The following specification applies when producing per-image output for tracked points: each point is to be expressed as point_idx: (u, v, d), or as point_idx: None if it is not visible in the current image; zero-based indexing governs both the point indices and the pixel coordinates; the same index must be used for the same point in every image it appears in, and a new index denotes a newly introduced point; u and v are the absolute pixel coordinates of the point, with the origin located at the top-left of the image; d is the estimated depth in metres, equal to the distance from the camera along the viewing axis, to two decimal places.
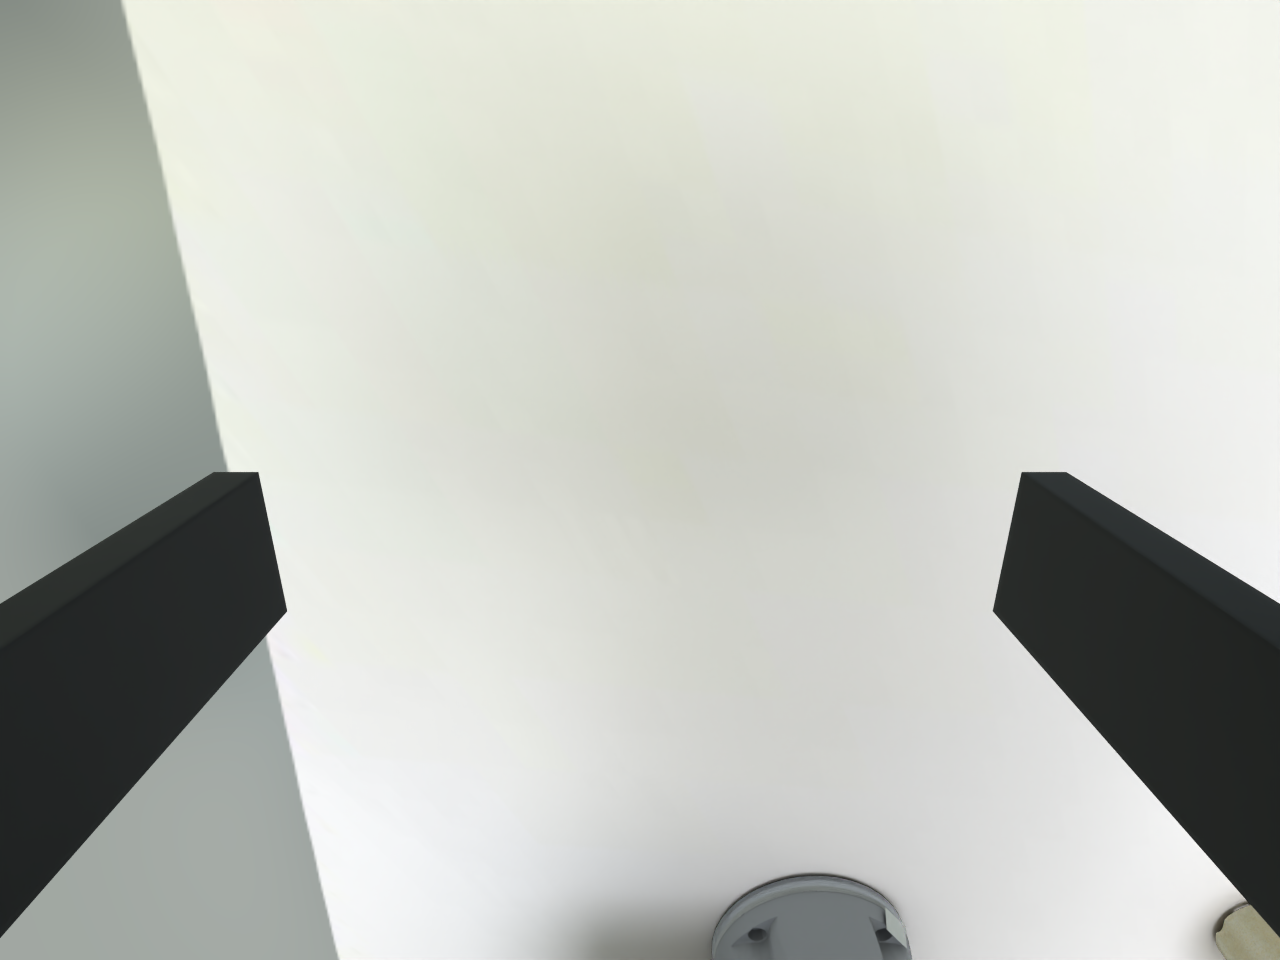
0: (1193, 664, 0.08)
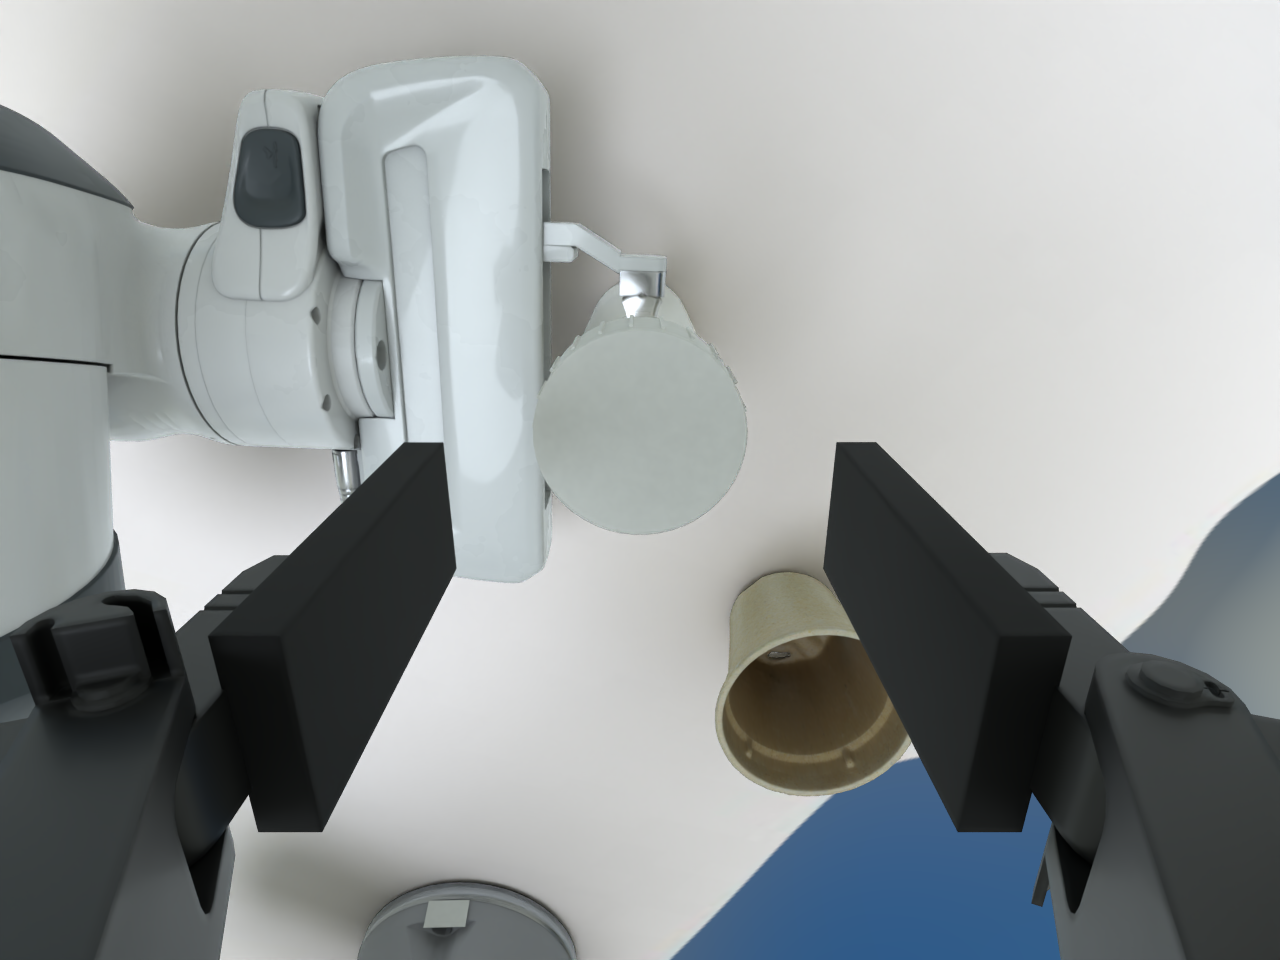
0: (910, 593, 0.10)
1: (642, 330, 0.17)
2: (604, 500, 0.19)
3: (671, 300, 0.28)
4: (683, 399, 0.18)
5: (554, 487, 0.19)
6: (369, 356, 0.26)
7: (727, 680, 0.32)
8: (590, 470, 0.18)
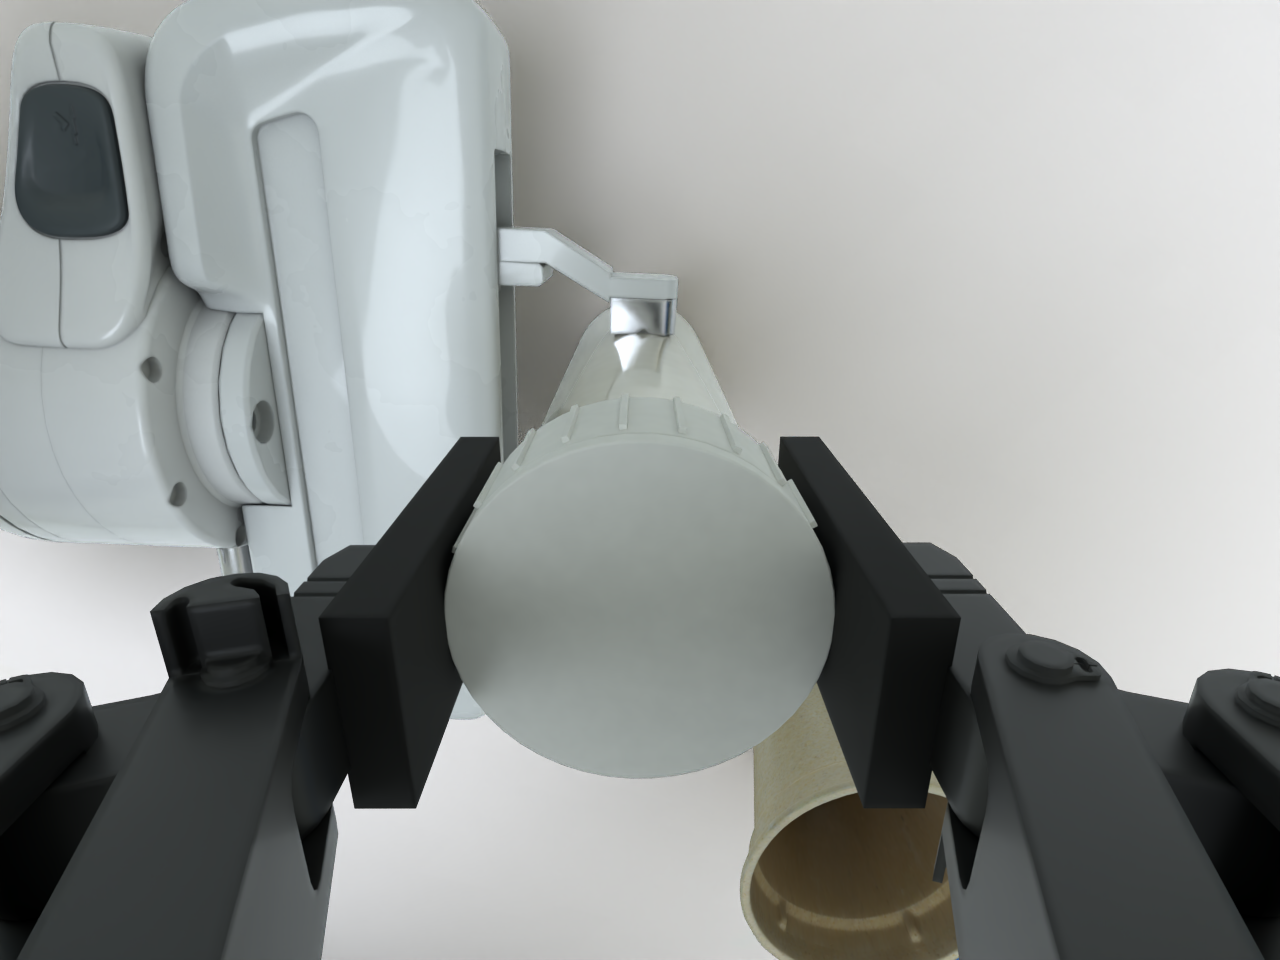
0: None
1: (644, 441, 0.09)
2: (576, 726, 0.11)
3: (683, 337, 0.20)
4: (720, 562, 0.10)
5: (488, 706, 0.10)
6: (241, 426, 0.17)
7: (757, 844, 0.24)
8: (550, 679, 0.10)
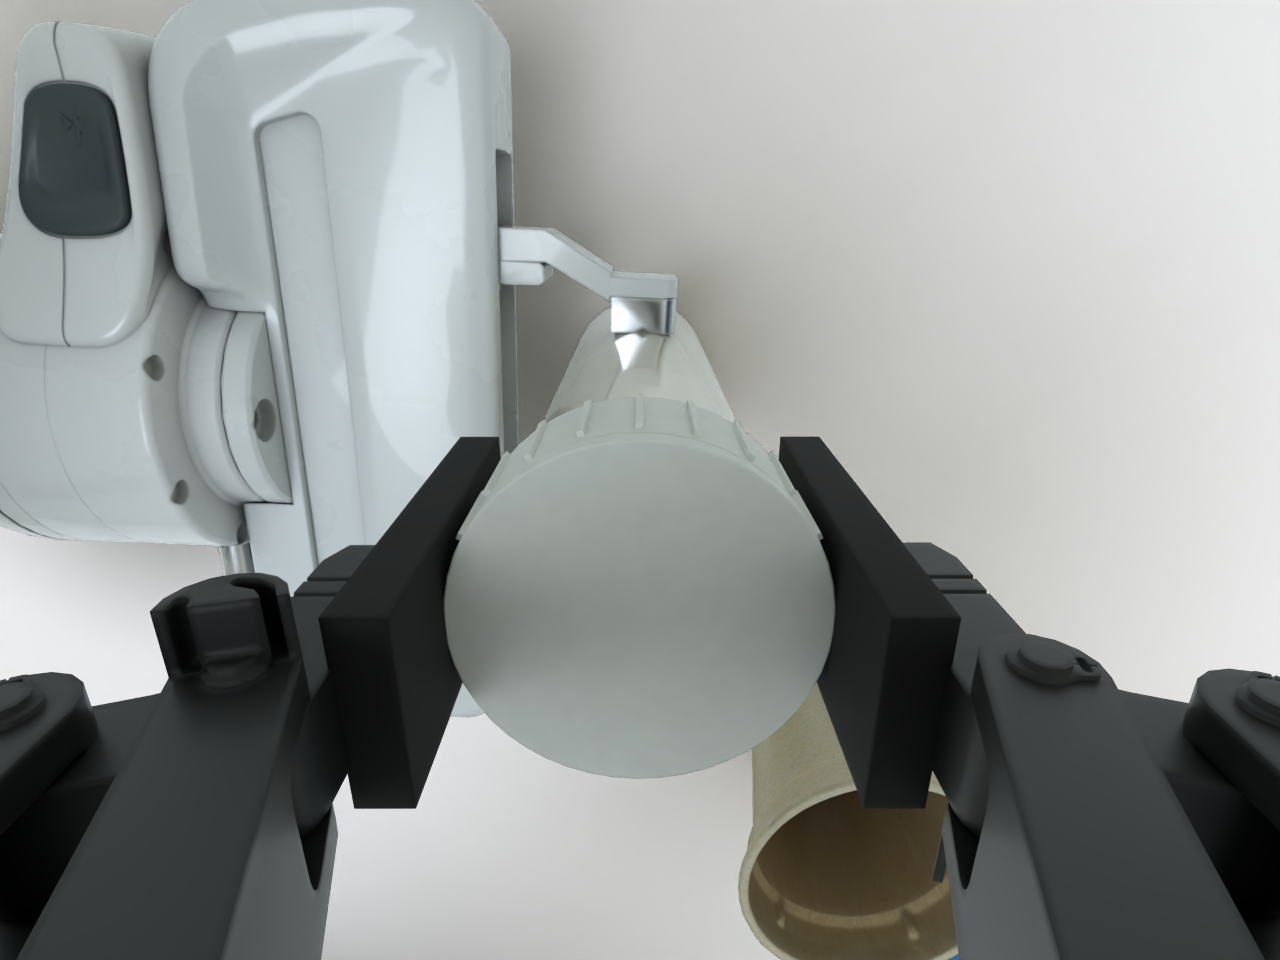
0: None
1: (446, 585, 0.10)
2: (740, 702, 0.10)
3: (683, 336, 0.20)
4: (583, 544, 0.09)
5: (695, 766, 0.11)
6: (243, 424, 0.17)
7: (756, 842, 0.24)
8: (678, 711, 0.10)
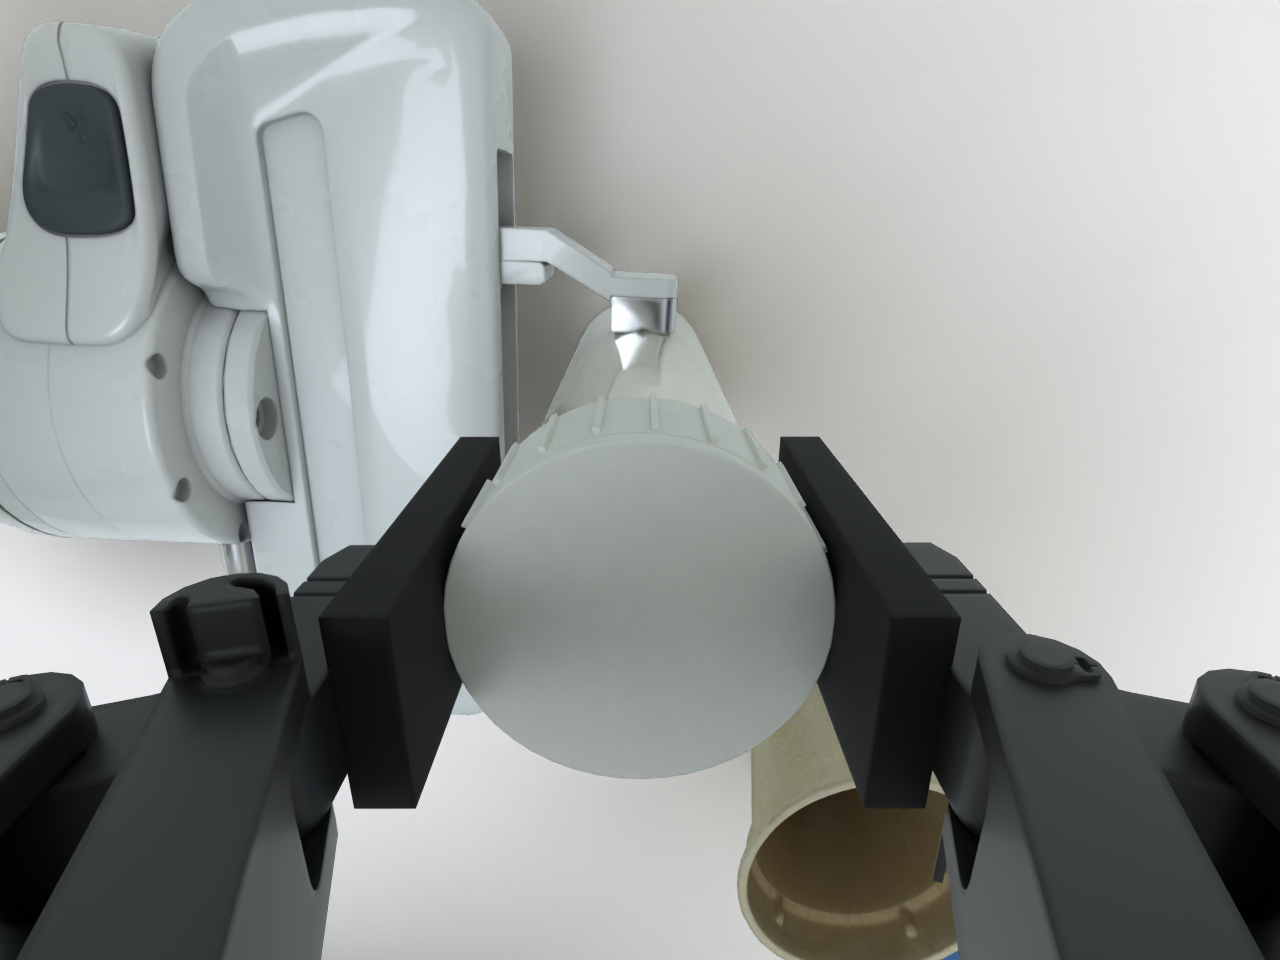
0: None
1: (559, 763, 0.11)
2: (758, 552, 0.10)
3: (683, 336, 0.20)
4: (539, 654, 0.10)
5: (827, 610, 0.10)
6: (245, 422, 0.17)
7: (754, 839, 0.24)
8: (750, 612, 0.10)
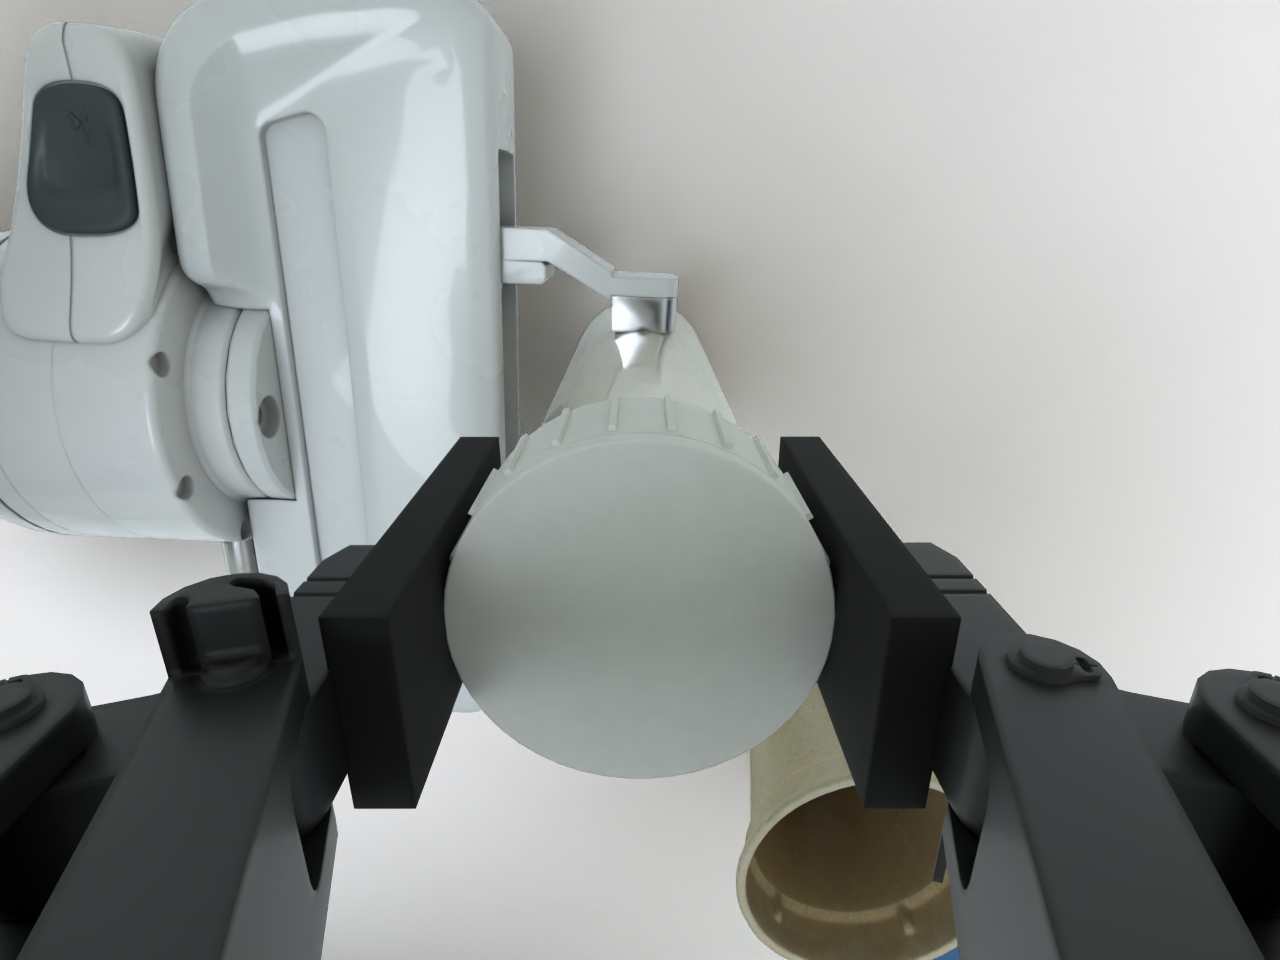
0: None
1: (780, 725, 0.11)
2: (579, 508, 0.09)
3: (683, 335, 0.21)
4: (648, 713, 0.10)
5: (662, 450, 0.09)
6: (247, 420, 0.18)
7: (753, 837, 0.24)
8: (647, 526, 0.09)
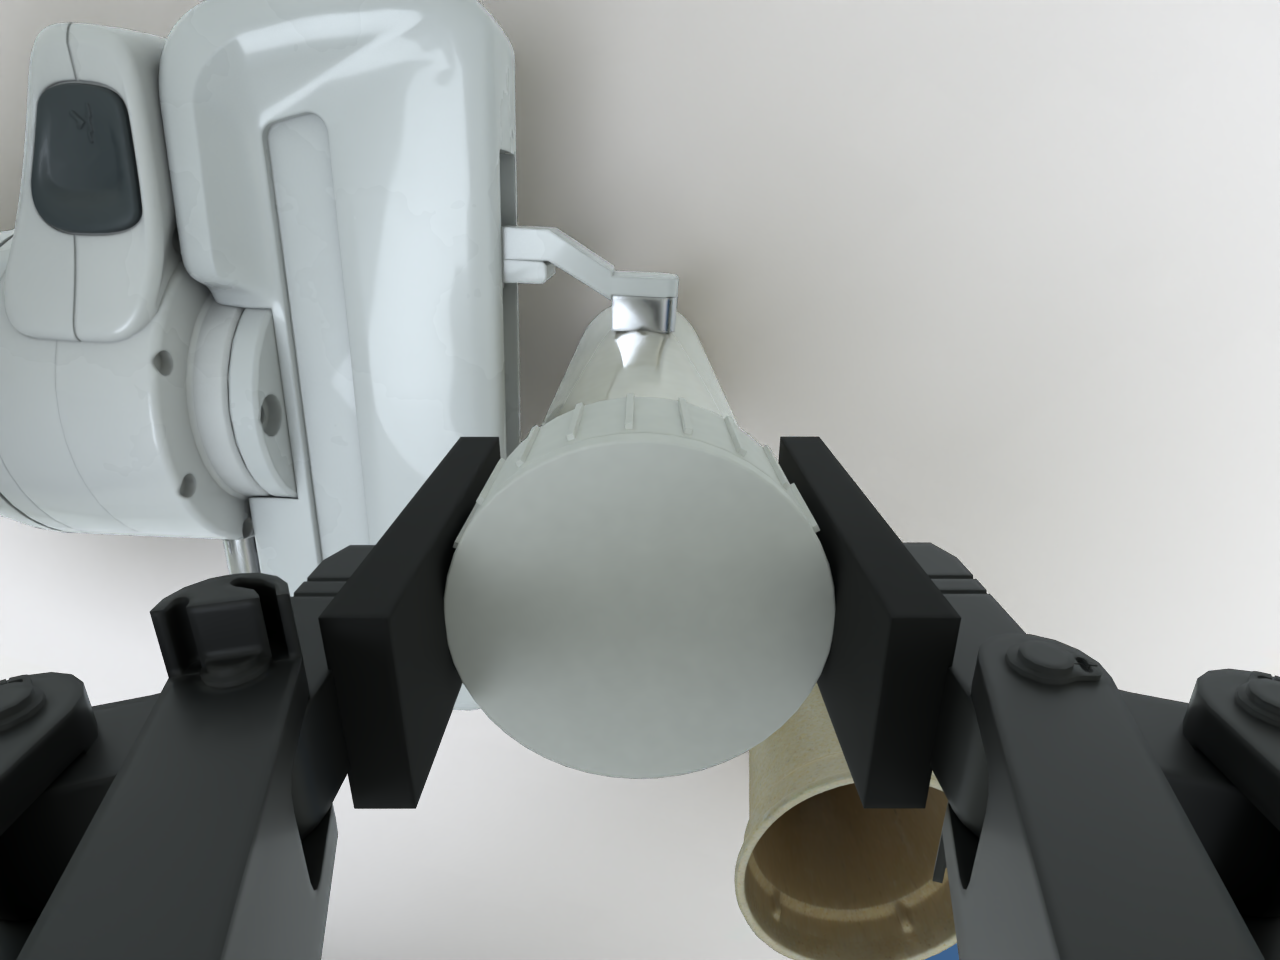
0: None
1: (802, 517, 0.09)
2: (503, 648, 0.10)
3: (683, 335, 0.21)
4: (744, 639, 0.10)
5: (456, 572, 0.10)
6: (249, 419, 0.18)
7: (752, 834, 0.24)
8: (531, 599, 0.10)
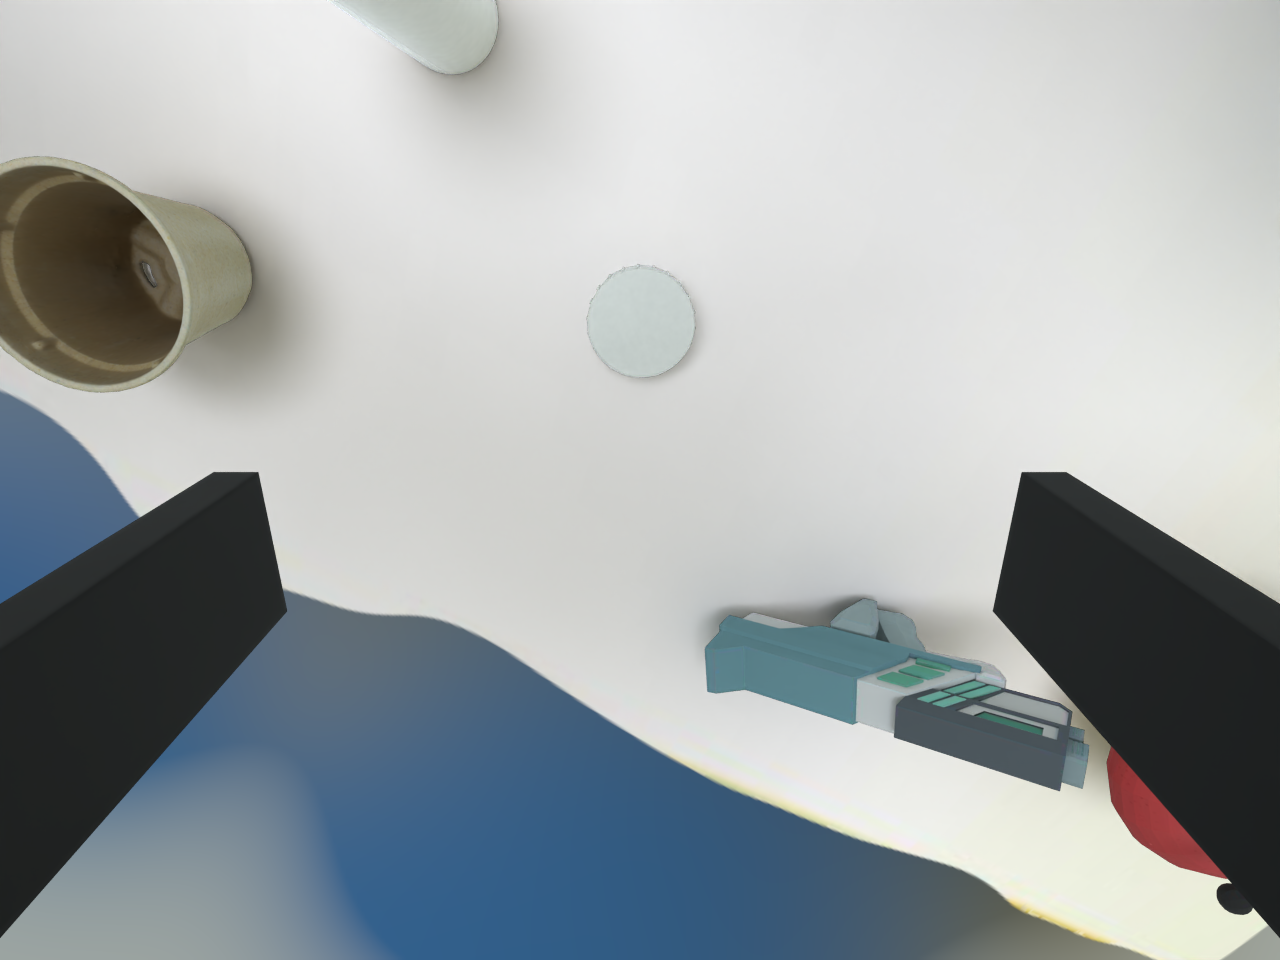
0: (1193, 664, 0.08)
1: (684, 290, 0.36)
2: (603, 332, 0.36)
3: (468, 3, 0.28)
4: (670, 328, 0.36)
5: (592, 307, 0.36)
6: None
7: (68, 160, 0.28)
8: (611, 316, 0.36)
